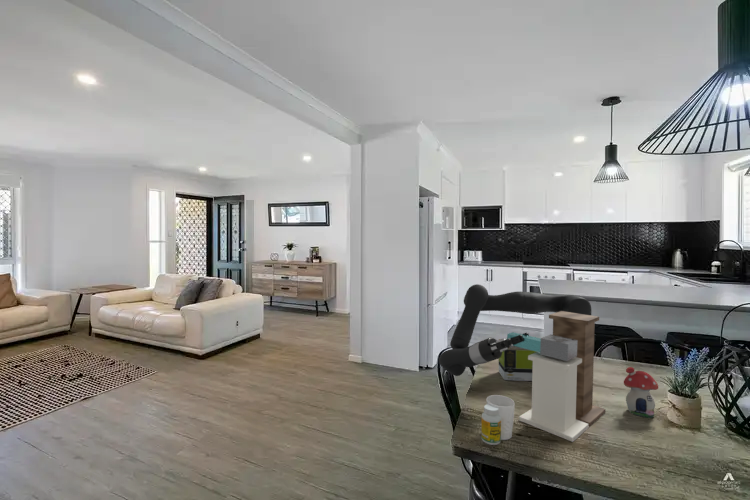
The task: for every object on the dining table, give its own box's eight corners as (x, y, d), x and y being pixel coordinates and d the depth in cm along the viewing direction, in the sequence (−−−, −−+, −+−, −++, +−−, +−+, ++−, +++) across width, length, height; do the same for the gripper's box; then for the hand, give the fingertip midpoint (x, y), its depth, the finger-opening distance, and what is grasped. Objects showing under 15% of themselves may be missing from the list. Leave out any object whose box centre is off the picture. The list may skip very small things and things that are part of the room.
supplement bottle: (492, 433, 107) (492, 401, 107) (505, 443, 103) (505, 409, 102) (477, 437, 105) (477, 404, 105) (489, 447, 100) (490, 413, 100)
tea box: (533, 373, 156) (534, 339, 156) (542, 382, 146) (543, 345, 146) (497, 371, 158) (498, 337, 157) (503, 380, 148) (504, 344, 147)
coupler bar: (576, 356, 111) (577, 339, 111) (567, 361, 107) (568, 344, 106) (514, 341, 126) (515, 327, 126) (504, 345, 122) (504, 330, 121)
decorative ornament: (622, 412, 121) (623, 367, 121) (623, 405, 127) (624, 362, 126) (657, 421, 116) (659, 374, 115) (657, 413, 121) (658, 368, 121)
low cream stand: (588, 427, 111) (590, 359, 111) (572, 441, 103) (574, 368, 103) (536, 408, 123) (538, 347, 123) (519, 420, 116) (520, 354, 115)
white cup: (510, 428, 111) (511, 395, 110) (516, 442, 103) (517, 407, 102) (484, 425, 112) (484, 393, 112) (487, 440, 104) (488, 405, 104)
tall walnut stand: (605, 412, 121) (608, 316, 120) (589, 426, 112) (592, 323, 111) (555, 396, 133) (558, 309, 132) (538, 408, 124) (540, 314, 123)
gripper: (469, 344, 128) (509, 329, 116) (491, 337, 137) (530, 322, 126) (478, 366, 125) (520, 352, 114) (500, 357, 135) (540, 343, 123)
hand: (525, 336), depth 120 cm, fingers closed on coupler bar, 3 cm apart
